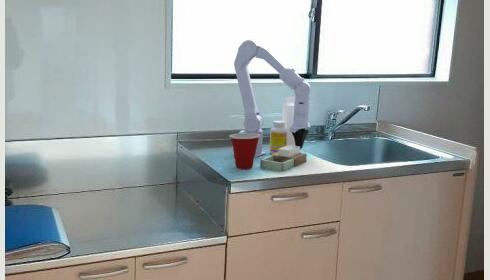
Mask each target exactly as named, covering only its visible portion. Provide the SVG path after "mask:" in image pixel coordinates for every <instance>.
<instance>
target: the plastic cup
mask: <svg viewBox="0 0 490 280" xmlns="http://www.w3.org/2000/svg"><path fill="white" fill-rule="evenodd" d="M259 137H260V134H255V133H239V132H238V133H232V134H230V135H229V138H230V139H231V142H232V143H231V144H232V150H233V159H234V164H235V168H236V169H238V170H246V171H247V170H251V169H253V165H254V161H255V158H256V157H255V153H256V148H257V144H258V139H259Z"/></svg>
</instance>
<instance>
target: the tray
mask: <svg viewBox="0 0 490 280" xmlns="http://www.w3.org/2000/svg"><path fill="white" fill-rule="evenodd" d="M293 167H294V159H290V160H288V161H285V162H283V163H280V162H274V156H273V155H271V154H270V155H269V156H267V157H264V158H261V159H260V160H259V168H262V169H267V170H273V171H279V172H285V171H287V170H289V169H291V168H293ZM294 168H295V167H294Z"/></svg>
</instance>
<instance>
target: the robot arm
mask: <svg viewBox="0 0 490 280" xmlns="http://www.w3.org/2000/svg"><path fill="white" fill-rule="evenodd" d="M254 58H256V59H260V60H264V61H265V62H266V63H267V64H268V65H269V66H271V68H273V69H274V70H275V71H276V72H278V74H279V79H280V80H281V81H282V82H283V83H284V84H285V85H286V86H287V87H289V89H290V90H293V92H294V94H295V95H294V97H295V101H294V117H293V124H292V126H291V127H290V132H291V133H292V134H293V137H294V140H295V146H300V150H302V149H303V146H304V143H305V140H306V138H307V136H308V134H309V129H310V128H311V127H312V126H311V122H309V114H310V98H311V97H310V94H311V91H312V90H311V89H312V88H311V85H310V84H309V82H308V81H307V80H305V78H304V77H301V76H300V75H299V74H298V73H297V72H296V69H295V68H294V67H293V68H291V66H287V67H286V66H285V65H283V63H282V62H280V61H279V59H278V58H276V56H275V55H274V54H273V53H272V52H271V51H270V50H269V49H267V47H265V46H264V45H262V44H260V42H259V41H258V40H256V39H245V40H244V41H243V42H242V43H241V44H240V45H239V46H238V48H237V53H236V56H235V59H234V62H233V66H234V72H235V75H236V79H237V82H238V83H237V84H238V87H239V92H240V93H239V94H240V96H241V101H242V105H243V109H244V110H243V112H244V113H243V116H244V122H243V126H244V130H240V131H239V132H238V134H239V133H255V134H260V137H259V139H258V144H257V148H256V153H255V158H257V157H260V156H263V155H265V154H266V153H267V152H266V151H263V138H264V137H263V135H264V133H263V132H264V131H263V129H262V127H263V125H264V123H265V120H264V118H263V116H262V114H260V110H259V108H258V106H257V100H256V97H255V93H254V89H253V88H254V87H253V84H252V80H251V76H250V72H249V68H248V66H249V64H251V62H252V60H253V59H254Z"/></svg>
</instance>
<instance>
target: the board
mask: <svg viewBox="0 0 490 280" xmlns="http://www.w3.org/2000/svg"><path fill="white" fill-rule="evenodd" d="M271 155H273V156H274V162H280V163H283V162H285V161H288V160H290V159H294V168H295V167H297V166H299V165H302V164H304V163H306V162H307V156H308V155H307V153H303V152H300V153H298V154H296V155H294V156H291V157H284V156H278V152H276V153H274V154H271V153H270V156H271Z"/></svg>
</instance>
